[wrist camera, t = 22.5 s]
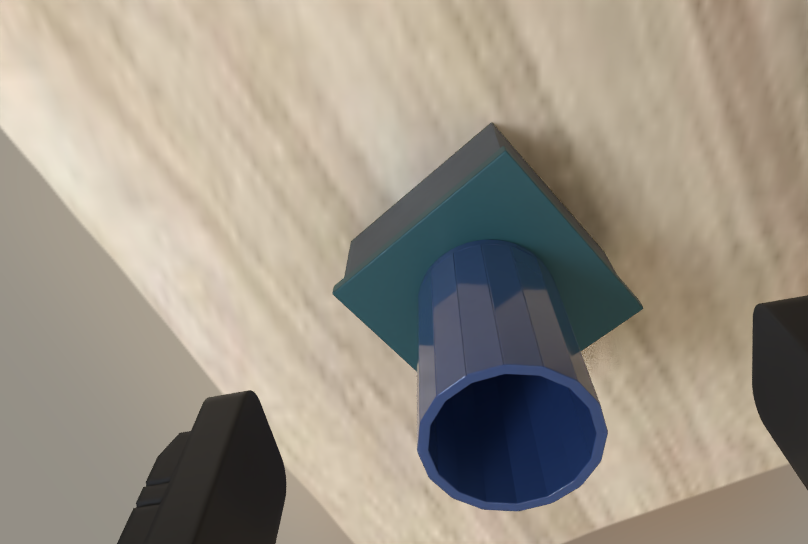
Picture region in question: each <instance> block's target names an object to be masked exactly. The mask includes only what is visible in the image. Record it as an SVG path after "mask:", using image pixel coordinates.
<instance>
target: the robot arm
mask: <svg viewBox="0 0 808 544" xmlns="http://www.w3.org/2000/svg"><path fill="white" fill-rule="evenodd" d="M752 388H753V395H754V400H755V404H756V407H757V410H758V413H759V416H760V418H761V420H762V422H763V424H764V426H765V427H766V429H767V430H768V432H769V433H770V435H771V436H772V438H773V439H774V441H775V442H776V444H777V445H778V447H779V448H780V450H781V451H782V453H783V454H784V456H785V457H786V459H787V460H788V462H789V463H790V465H791V466H792V468H793V469H794V471H795V472H796V474H797V475H798V477H799V478H800V480H801V481H802V482H803V484H804V485H805V487H806V488H807V490H808V295H807V296H802V297H796V298H790V299H784V300H778V301H773V302H767V303H761V304H758V305H756V307H755V309H754V312H753V353H752ZM285 496H286V475H285V468H284V464H283V460H282V457H281V455H280V452H279V450H278V447H277V444H276V442H275V439H274V437H273V434H272V431H271V429H270V426H269V424H268V421H267V419H266V416H265V413H264V411H263V408H262V406H261V403H260V401H259V398H258V397H257V395H256V394H255V393H254V392H253V391H251V390H249V391H244V392H238V393H232V394H226V395H220V396H215V397H209V398H207V399H206V400H205V401H204V402H203V404H202V407H201V409H200V411H199V414H198V416H197V418H196V421H195V423H194V426H193V428H192V430H191V431H189V432H183V433H179V435H178V436H177V437H176V438H175V439H174V440H173V441H172V442H171V443H170V444H169V445H168V446H167V447H166V448H165V449H164V451H163V452H162V453H161V454H160V455H159V456H158V457H157V459H156V462H155V464H154V466H153V468H152V470H151V472H150V474H149V476H148V479H147V481H146V487H143V489H142V491H141V494H140V496H139V498H138V500H137V502H136V504H137V507H136V508H134V509H133V511H132V513H131V515H130V517H129V519H128V521H127V523H126V526H125V528H124V530H123V532H122V534H121V536H120V539H119V541H118V543H117V544H275V543H276V538H277V534H278V529H279V525H280V520H281V516H282V511H283V506H284V502H285Z"/></svg>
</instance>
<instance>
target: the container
mask: <svg viewBox="0 0 808 544" xmlns="http://www.w3.org/2000/svg"><path fill="white" fill-rule="evenodd" d="M477 240H503V241H507V242H511V243H515V244H517V245H520V246H522V247H524V248H526V249H528V250H529V251H531V252H532V253H534V254H535V255H536V256H537V257H538V258H539V259H541V260H542V261H543V263H544V264H545V265H546V267H547V268H548V270H549V271H550V273H551V275H552V276H553V278H554V281H555V283H556V286H557V289H558V292H559V294H560V297H561V300H562V302H563V305H564V308H565V310H566V313H567V316H568V319H569V321H570V324H571V327H572V329H573V332H574V335H575V338H576V340H577V343H578V346H579V348H580V351H582V350H583V349H585V348H586V347H588V346H589V345H591V344H592V343H594V342H595V341H597V340H598V339H600V338H601V337H603V336H604V335H605V334H607V333H608V332H610V331H611V330H613V329H614V328H616V327H617V326H619V325H620V324H622V323H623V322H625V321H626V320H628V319H629V318H630V317H632V316H633V315H635V314H636V313H638V312H639V311H641V310H642V309H643V306H642V304H641V303H640V301H639V300H638V298H637V297H636V296H635V295H634V294H633V293H632V292H631V290H630V289H629V288H628V287H627V286H626V285H625V283H624V282H623V281H622V280H621V279H620V278H619V277H618V275H617V274H616V272H615V270H614V269H613V267H612V265H611V263H610V261H609V259H608V257H607V256H606V254H605V253H604V251H603V250H602V249H601V248H600V247H599V246H598V244H597V243H596V242H595V241H594V240H593V239H592V237H591V236H590V235H589V234H588V233H587V232H586V231H585V229H584V228H583V227H582V226H581V225H580V224H579V222H578V221H577V220H576V219H575V218H574V217H573V216H572V214H571V213H570V212H569V211H568V210H567V209H566V207H565V206H564V205H563V204H562V203H561V202H560V201H559V199H558V198H557V197H556V196H555V195H554V194H553V192H552V191H551V190H550V189H549V188H548V187H547V185H546V184H545V183H544V182H543V181H542V180H541V179H540V177H539V176H538V175H537V174H536V173H535V172H534V170H533V169H532V168H531V167H530V166H529V165H528V164H527V162H526V161H525V160H524V159H523V158H522V157H521V155H520V154H519V153H518V152H517V151H516V150H515V149H514V147H513V146H512V145H511V144H510V143H509V142H508V140H507V139H506V138H505V137H504V136H503V135H502V133H501V132H500V131H499V130H498V129H497V128H496V127H495V125H494V124H493V123H490V124H489V125H488V126H487V127H485V128H484V129H483V130H482V131H481V132H479V133H478V134H477V135H476V136H475V137H474V138H472V139H471V140H470V141H469V142H468V143H467V144H465V145H464V146H463V147H462V148H461V149H459V150H458V151H457V152H456V153H455V154H454V155H452V156H451V157H450V158H449V159H448V160H446V161H445V162H444V163H443V164H442V165H441V166H439V167H438V168H437V169H436V170H435V171H434V172H432V173H431V174H430V175H429V176H428V177H426V178H425V179H424V180H423V181H422V182H421V183H419V184H418V185H417V186H416V187H415V188H413V189H412V190H411V191H410V192H409V193H408V194H406V195H405V196H404V197H403V198H402V199H401V200H399V201H398V202H397V203H396V204H395V205H393V206H392V207H391V208H390V209H389V210H388V211H386V212H385V213H384V214H383V215H382V216H380V217H379V218H378V219H377V220H376V221H375V222H373V223H372V224H371V225H370V226H369V227H368V228H366V229H365V230H364V231H363V232H362V233H360V234H359V235H358V236H357V237H356V238H355V239H353V240H352V241H351V245H350V250H349V255H348V260H347V266H346V271H345V276H344V278H343V279H342V280H341V281H340V282H338V283H337V284H336V285H335V286H334V288H333V295H334V296H335V297H336V298H337V299H338V300H340V301H341V302H342V303H343V304H344V305H345V306H346V307H347V308H348V309H349V310H350V311H352V312H353V313H354V314H355V315H356V316H357V317H358V318H359V319H360V320H361V321H362V322H363V323H365V324H366V325H367V326H368V327H369V328H370V329H371V330H372V331H373V332H374V333H375V334H377V335H378V336H379V337H380V338H381V339H382V340H383V341H384V342H385V343H386V344H387V345H388V346H390V347H391V348H392V349H393V350H394V351H395V352H396V353H397V354H398V355H399V356H400V357H402V358H403V359H404V360H405V361H406V362H407V363H408V364H409V365H410V366H411V367H412V368H414V369H415V370H416V371H417V306H418V292H419V288H420V285H421V282H422V280H423V278H424V276H425V274H426V273H427V271H428V270H429V268H430V267H431V266H432V265H433V263H434V262H435V261H436V260H437V259H439V258H440V257H441V256H442V255H444V254H445V253H446V252H448V251H449V250H451V249H453V248H455V247H457V246H460V245H462V244H465V243H468V242H472V241H477Z"/></svg>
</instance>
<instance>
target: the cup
mask: <svg viewBox="0 0 808 544" xmlns="http://www.w3.org/2000/svg"><path fill="white" fill-rule="evenodd" d="M607 434H608V430H607V427H606V423H605V420H604V416H603V412H602V409H601V405H600V402H599V400H598V397H597V394H596V392H595V389H594V386H593V384H592V381H591V378H590V375H589V373H588V370H587V367H586V365H585V362H584V359H583V356H582V354H581V351H580V348H579V346H578V343H577V340H576V338H575V335H574V332H573V329H572V327H571V324H570V321H569V319H568V316H567V313H566V310H565V308H564V305H563V302H562V300H561V297H560V294H559V292H558V289H557V286H556V283H555V281H554V278H553V276H552V275H551V273H550V271H549V270H548V268H547V267H546V265H545V264H544V263H543V261H542V260H541V259H539V258H538V257H537V256H536V255H535V254H534V253H532V252H531V251H529V250H528V249H526V248H524V247H522V246H520V245H517V244H515V243H511V242H507V241H503V240H477V241H472V242H468V243H465V244H462V245H460V246H457V247H455V248H453V249H451V250H449V251H448V252H446V253H445V254H444V255H442V256H441V257H440V258H439V259H437V260H436V261H435V262H434V263H433V265H432V266H431V267H430V268H429V270H428V271H427V273H426V274H425V276H424V278H423V280H422V282H421V285H420V288H419V292H418V306H417V451H418V454H419V457H420V459H421V461H422V463H423V466H424V468H425V470H426V472H427V475H428V477H429V478H430V479H431V480H432V481H433V482H434V483H435V484H437V485H438V486H439V487H440V488H441V489H442V490H444V491H445V492H446V493H447V494H448V495H449V496H450V497H452V498H453V499H456V500H459V501H461V502H464V503H467V504H470V505H472V506H475V507H478V508H480V509H484V510H501V511H522V510H526V509H530V508H534V507H539V506H543V505H547V504H551V503H554V502H555V501H557V500H559V499H560V498H562V497H564V496H565V495H567V494H569V493H570V492H572V491H574V490H575V489H577V488H579V487H580V486H581V485H582V484H583V483H584V482H585V481H586V479H587V478H588V477H589V476H590V474H591V473H592V472H593V471H594V469H595V468H596V467H597V466H598V464H599V463H600V462H601V459H602V455H603V451H604V447H605V443H606V438H607Z"/></svg>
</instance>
